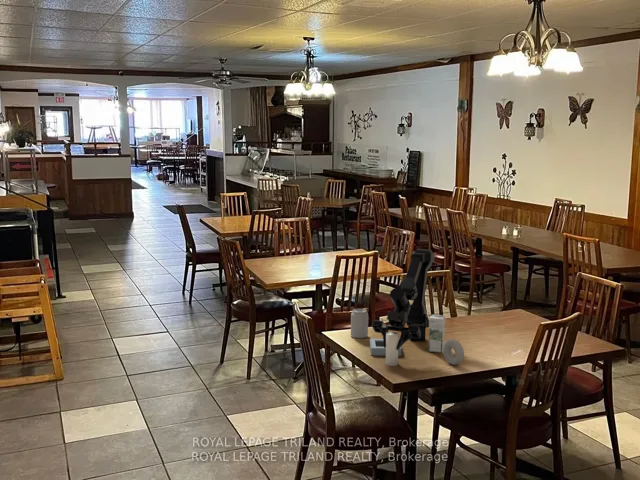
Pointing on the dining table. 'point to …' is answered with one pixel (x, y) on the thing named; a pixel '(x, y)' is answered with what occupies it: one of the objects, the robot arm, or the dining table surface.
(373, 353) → the caddy
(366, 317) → the can
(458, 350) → the donut
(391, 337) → the white cylinder
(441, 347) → the syrup box
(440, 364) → the dining table surface
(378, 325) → the robot arm
